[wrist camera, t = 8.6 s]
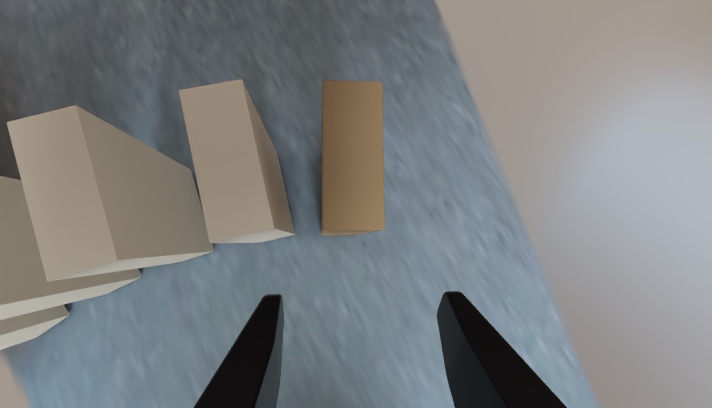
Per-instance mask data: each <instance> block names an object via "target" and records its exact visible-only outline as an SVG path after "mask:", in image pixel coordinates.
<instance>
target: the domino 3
mask: <svg viewBox="0 0 712 408" xmlns="http://www.w3.org/2000/svg"><path fill="white" fill-rule="evenodd" d="M7 126H8V130H9V134H10V138H11V142H12V146H13V149H14V153H15V157H16V161H17V165H18V169H19V173H20V177H21V181H22V185H23V189H24V193H25V196H26V200H27V204H28V208H29V212H30V216H31V220H32V224H33V228H34V232H35V236H36V240H37V244H38V247H39V251H40V255H41V259H42V263H43V267H44V271H45V275H46V279H47V282H48V281H55V280H62V279H69V278H75V277H82V276H89V275H96V274H103V273H110V272H116V271H123V270H130V269H137V268H144V267H151V266H158V265H164V264H171V263H178V262H182V261H185V260H188V259H192V258H195V257H198V256H201V255H204V254H208V253H211V252H214V248H213V244H212V243H209V238H208V233H207V228H206V223H205V218H204V213H203V210H202V207H201V203H200V200H199V196H198V193H197V189H196V186H195V182H194V179H193V176H192V172H191V169H189V168H187V167H185V166H184V165H182V164H180V163H178V162H176V161H175V160H173V159H171V158H169V157H168V156H166V155H164V154H162V153H160V152H159V151H157V150H155V149H153V148H151V147H150V146H148V145H146V144H144V143H143V142H141V141H139V140H137V139H135V138H134V137H132V136H130V135H128V134H127V133H125V132H123V131H121V130H119V129H118V128H116V127H114V126H112V125H110V124H109V123H107V122H105V121H103V120H102V119H100V118H98V117H96V116H94V115H93V114H91V113H89V112H87V111H85V110H84V109H82V108H80V107H78V106H77V105H74V106H70V107H66V108H62V109H58V110H54V111H50V112H46V113H42V114H38V115H34V116H30V117H26V118H22V119H18V120H14V121H10V122H7Z"/></svg>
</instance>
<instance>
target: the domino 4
mask: <svg viewBox="0 0 712 408" xmlns="http://www.w3.org/2000/svg"><path fill="white" fill-rule="evenodd" d="M179 94H180V99H181V104H182V109H183V114H184V119H185V124H186V129H187V134H188V139H189V144H190V149H191V154H192V159H193V163H194V168H195V173H196V178H197V183H198V188H199V193H200V198H201V203H202V208H203V213H204V218H205V223H206V228H207V233H208V238H209V243H262V242H266V241H270V240H274V239H279V238H283V237H287V236H292V235H295V231H294V227H293V222H292V218H291V213H290V209H289V204H288V200H287V195H286V191H285V186H284V182H283V177H282V173H281V168H280V164H279V159H278V155H277V152H276V150H275V148H274V146H273V144H272V142H271V140H270V137H269V135H268V133H267V131H266V129H265V127H264V125H263V123H262V121H261V119H260V116H259V114H258V112H257V110H256V108H255V106H254V104H253V102H252V100H251V98H250V96H249V93H248V91H247V89H246V87H245V85H244V83H243V81H242V79H239V80H234V81H228V82H222V83H217V84H211V85H205V86H199V87H194V88H188V89H182V90H179Z"/></svg>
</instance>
